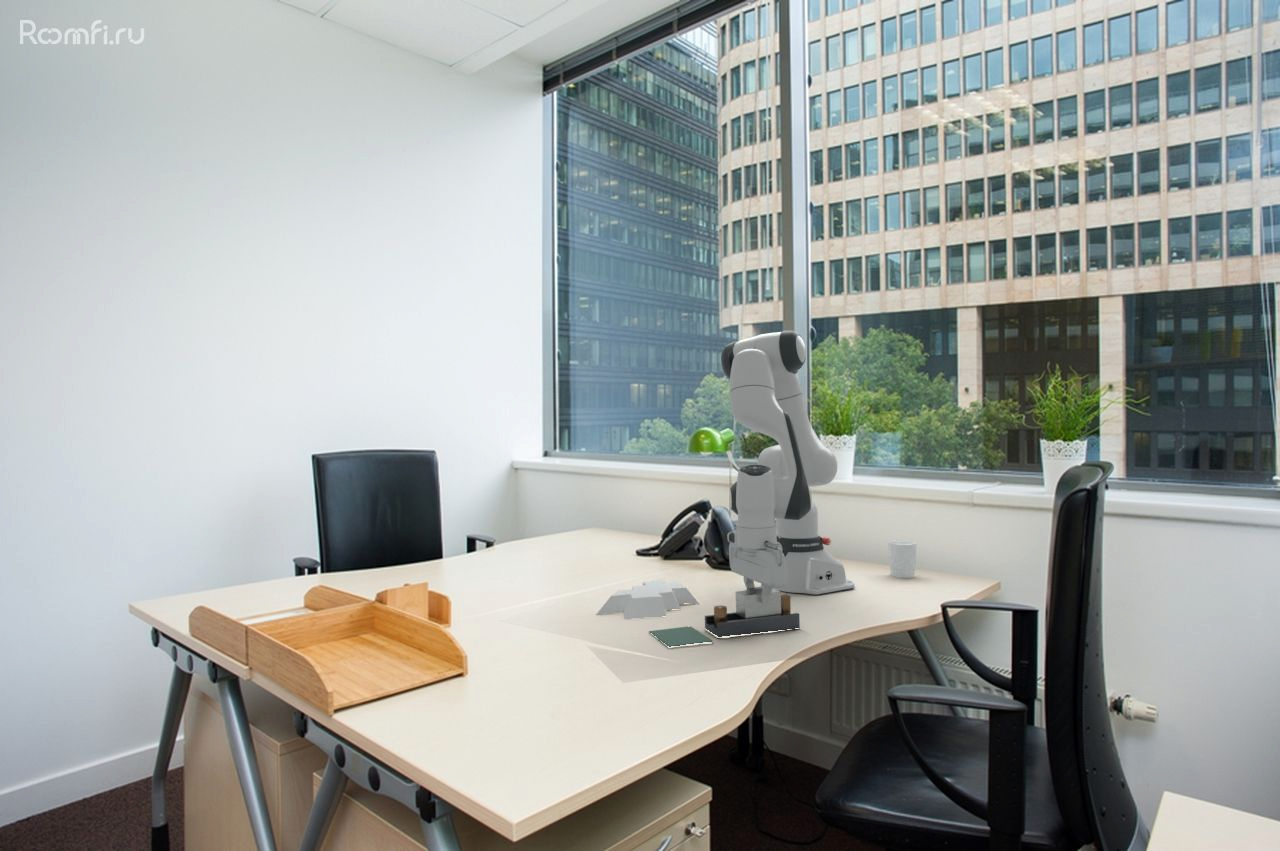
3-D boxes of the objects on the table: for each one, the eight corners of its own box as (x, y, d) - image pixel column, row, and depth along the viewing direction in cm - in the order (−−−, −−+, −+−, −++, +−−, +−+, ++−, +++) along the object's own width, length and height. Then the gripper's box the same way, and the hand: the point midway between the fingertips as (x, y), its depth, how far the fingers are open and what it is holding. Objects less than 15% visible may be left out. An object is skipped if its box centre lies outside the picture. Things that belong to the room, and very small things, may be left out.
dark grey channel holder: (783, 621, 180) (783, 591, 179) (799, 629, 173) (799, 598, 173) (705, 631, 173) (704, 600, 173) (718, 639, 166) (718, 607, 166)
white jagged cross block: (645, 633, 174) (645, 609, 174) (577, 621, 186) (577, 598, 186) (721, 601, 203) (720, 580, 203) (658, 592, 214) (658, 572, 214)
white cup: (882, 575, 229) (882, 541, 228) (903, 572, 232) (902, 539, 232) (902, 580, 221) (901, 545, 221) (922, 577, 225) (922, 543, 225)
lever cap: (771, 609, 177) (770, 583, 177) (781, 613, 173) (780, 587, 173) (736, 613, 174) (735, 588, 174) (745, 618, 170) (744, 592, 170)
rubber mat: (690, 629, 174) (690, 626, 174) (713, 644, 163) (712, 640, 163) (648, 634, 171) (648, 631, 171) (669, 649, 160) (669, 646, 160)
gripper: (793, 544, 164) (795, 608, 165) (747, 530, 183) (749, 588, 184) (767, 546, 162) (769, 612, 162) (723, 533, 181) (725, 591, 182)
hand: (758, 599), depth 173 cm, fingers closed on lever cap, 4 cm apart
